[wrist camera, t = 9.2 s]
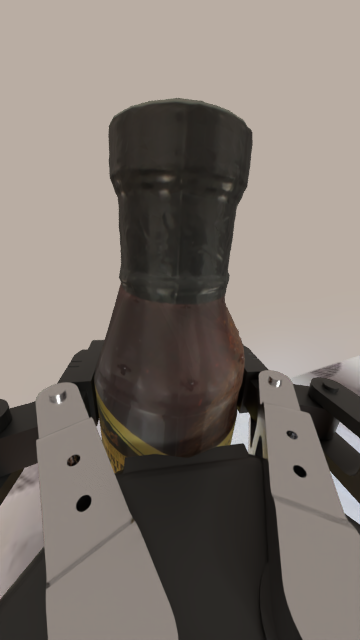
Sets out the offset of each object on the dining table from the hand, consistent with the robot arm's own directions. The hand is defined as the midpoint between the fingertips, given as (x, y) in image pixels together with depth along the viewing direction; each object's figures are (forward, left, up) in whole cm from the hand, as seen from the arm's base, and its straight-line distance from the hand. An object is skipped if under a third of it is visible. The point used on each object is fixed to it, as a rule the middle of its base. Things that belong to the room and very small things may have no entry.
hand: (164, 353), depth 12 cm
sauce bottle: (0, +3, -11) cm, 11 cm away
